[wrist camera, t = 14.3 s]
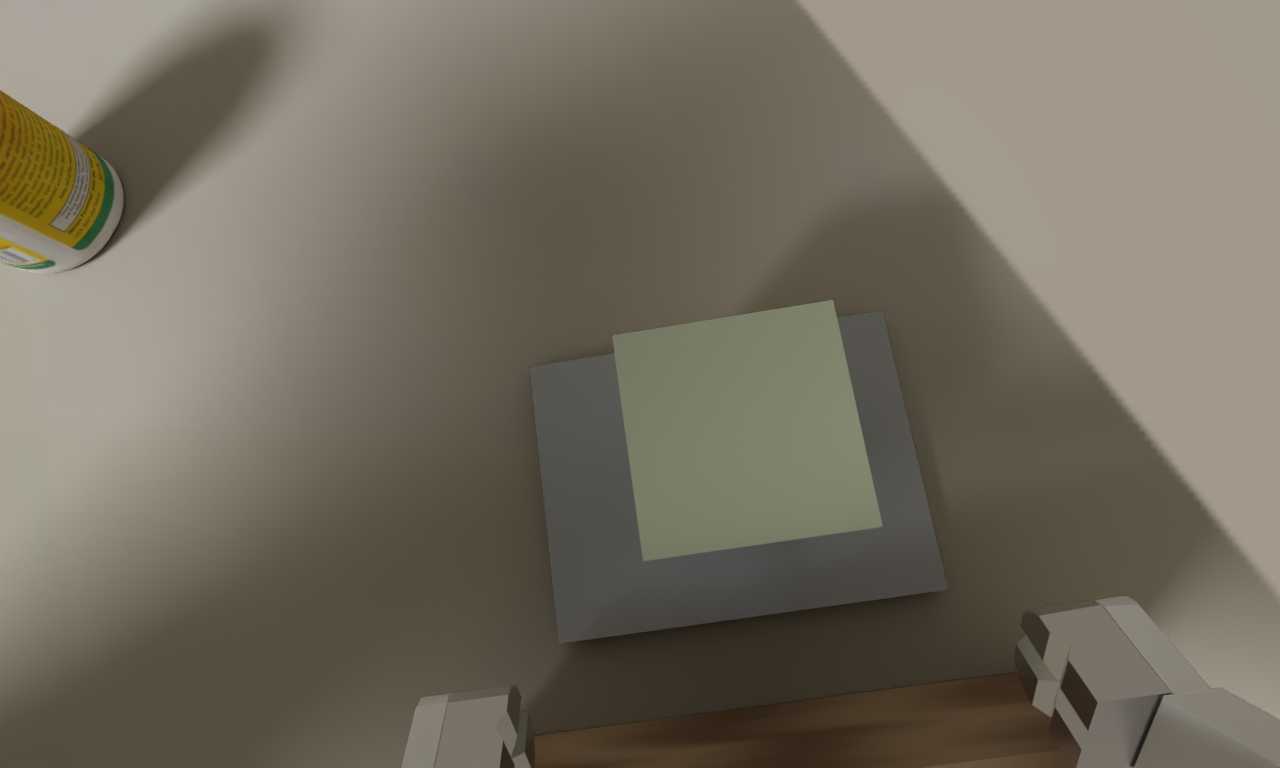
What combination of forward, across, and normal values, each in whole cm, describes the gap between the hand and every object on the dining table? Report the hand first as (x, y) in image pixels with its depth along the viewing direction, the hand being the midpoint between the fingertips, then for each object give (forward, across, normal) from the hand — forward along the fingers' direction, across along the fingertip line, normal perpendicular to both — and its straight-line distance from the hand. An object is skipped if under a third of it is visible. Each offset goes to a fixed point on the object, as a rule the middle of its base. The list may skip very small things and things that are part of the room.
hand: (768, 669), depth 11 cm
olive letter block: (+10, -1, +4) cm, 11 cm away
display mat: (+11, -1, +5) cm, 12 cm away
